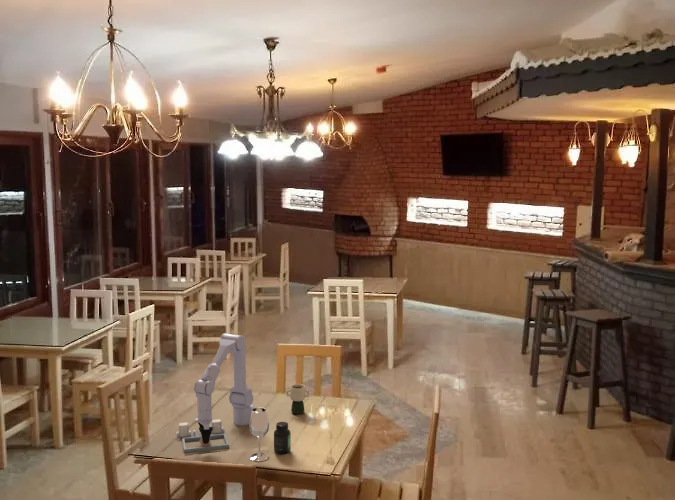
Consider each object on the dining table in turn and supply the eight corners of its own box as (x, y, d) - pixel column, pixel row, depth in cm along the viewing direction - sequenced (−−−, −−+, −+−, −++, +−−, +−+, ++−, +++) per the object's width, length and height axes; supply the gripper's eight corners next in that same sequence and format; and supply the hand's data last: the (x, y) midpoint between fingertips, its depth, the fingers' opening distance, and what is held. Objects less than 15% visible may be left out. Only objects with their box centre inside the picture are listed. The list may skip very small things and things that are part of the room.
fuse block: (223, 431, 298) (223, 424, 297) (225, 436, 292) (225, 430, 292) (175, 436, 292) (175, 429, 291) (175, 441, 286) (175, 435, 286)
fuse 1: (188, 433, 292) (188, 422, 291) (188, 436, 289) (188, 425, 288) (178, 434, 291) (178, 423, 290) (179, 437, 288) (179, 425, 287)
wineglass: (260, 463, 266) (260, 414, 263) (245, 458, 270) (245, 410, 267) (273, 456, 272) (272, 408, 270) (257, 451, 276) (257, 405, 274)
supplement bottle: (293, 452, 276) (293, 424, 274) (278, 456, 272) (278, 428, 270) (285, 446, 281) (285, 419, 280) (271, 450, 278) (270, 422, 276)
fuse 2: (220, 429, 296) (220, 419, 295) (221, 432, 293) (221, 421, 292) (211, 430, 295) (211, 419, 294) (212, 433, 292) (212, 422, 291)
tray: (225, 439, 289) (225, 433, 289) (228, 450, 277) (228, 444, 277) (182, 443, 284) (182, 438, 284) (184, 455, 272) (184, 449, 272)
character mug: (309, 410, 323) (309, 384, 322) (308, 415, 316) (308, 389, 315) (287, 409, 324) (287, 383, 322) (285, 415, 317) (285, 388, 315)
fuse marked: (209, 443, 283) (209, 432, 282) (210, 446, 280) (210, 435, 279) (199, 444, 282) (199, 433, 281) (200, 448, 279) (200, 436, 278)
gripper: (193, 403, 284) (194, 433, 286) (196, 415, 270) (196, 447, 272) (210, 401, 286) (210, 432, 288) (213, 413, 272) (214, 445, 274)
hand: (205, 439), depth 280 cm, fingers open, 7 cm apart
